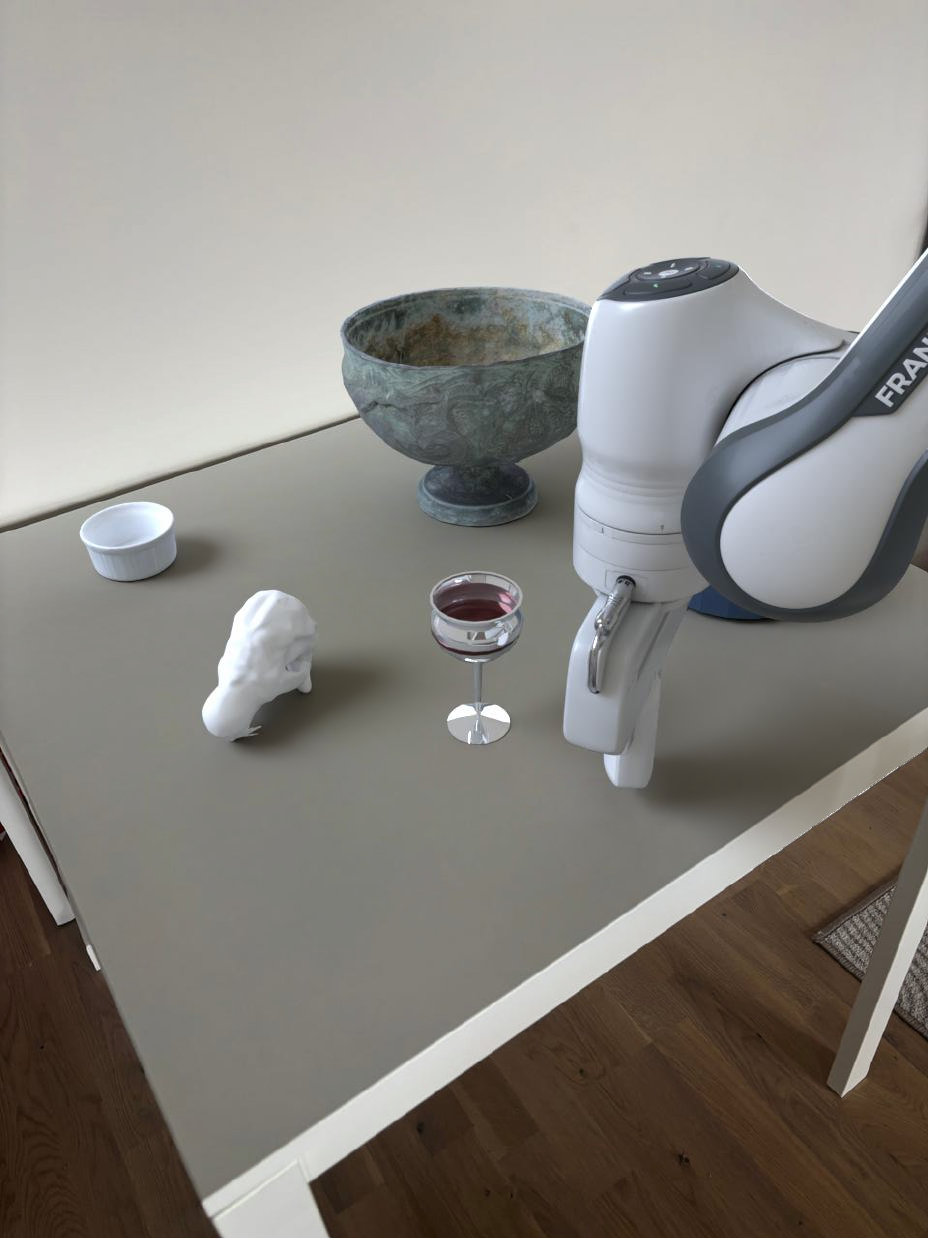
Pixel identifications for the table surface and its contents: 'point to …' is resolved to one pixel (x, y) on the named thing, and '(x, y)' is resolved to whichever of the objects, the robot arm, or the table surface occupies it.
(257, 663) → the white lumpy figure
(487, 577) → the wineglass
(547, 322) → the decorative bowl
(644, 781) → the eye dropper bottle
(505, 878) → the table surface
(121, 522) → the ramekin
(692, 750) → the table surface
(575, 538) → the robot arm
